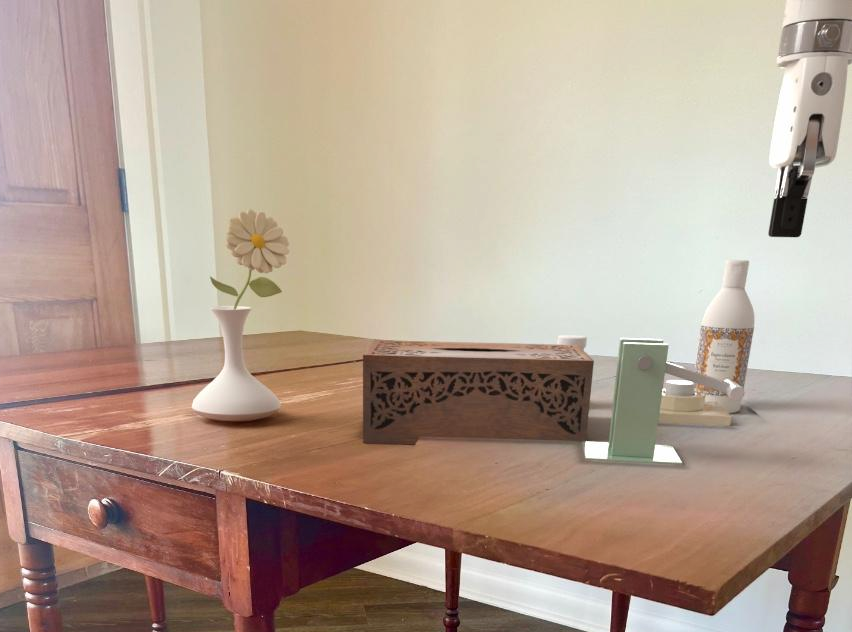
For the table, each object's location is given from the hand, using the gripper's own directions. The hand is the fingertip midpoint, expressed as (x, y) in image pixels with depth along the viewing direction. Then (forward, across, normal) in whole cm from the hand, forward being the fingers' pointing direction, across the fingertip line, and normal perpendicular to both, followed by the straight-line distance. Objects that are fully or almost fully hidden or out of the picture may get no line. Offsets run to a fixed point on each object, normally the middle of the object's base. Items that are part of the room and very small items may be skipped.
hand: (784, 236), depth 98 cm
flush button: (+19, +7, +8) cm, 22 cm away
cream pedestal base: (+23, +7, +8) cm, 25 cm away
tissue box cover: (+23, -5, +34) cm, 41 cm away
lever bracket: (+23, -16, +16) cm, 32 cm away
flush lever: (+14, -16, +12) cm, 25 cm away
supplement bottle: (+23, +16, +22) cm, 36 cm away
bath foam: (+23, +18, +1) cm, 29 cm away
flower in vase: (+23, -3, +64) cm, 68 cm away
